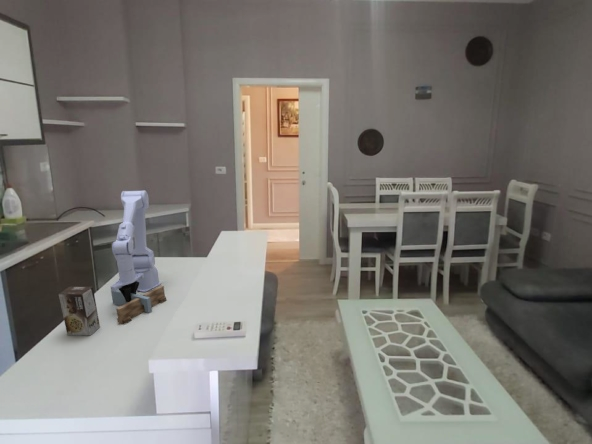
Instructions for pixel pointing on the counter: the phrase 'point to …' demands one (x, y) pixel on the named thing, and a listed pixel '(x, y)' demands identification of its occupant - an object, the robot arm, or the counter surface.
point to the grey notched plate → (120, 300)
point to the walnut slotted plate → (139, 305)
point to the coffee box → (79, 310)
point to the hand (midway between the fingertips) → (130, 300)
